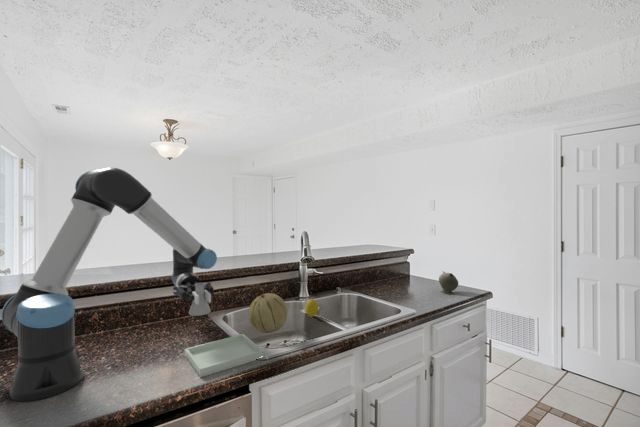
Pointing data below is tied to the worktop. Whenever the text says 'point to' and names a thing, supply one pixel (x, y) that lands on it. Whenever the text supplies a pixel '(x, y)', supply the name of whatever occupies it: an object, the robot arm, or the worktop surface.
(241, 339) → the tray
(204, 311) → the flask
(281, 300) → the cantaloupe
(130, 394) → the worktop surface
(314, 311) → the lemon
